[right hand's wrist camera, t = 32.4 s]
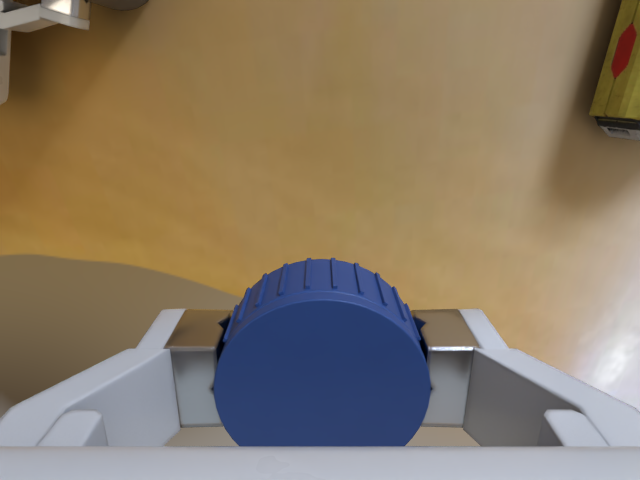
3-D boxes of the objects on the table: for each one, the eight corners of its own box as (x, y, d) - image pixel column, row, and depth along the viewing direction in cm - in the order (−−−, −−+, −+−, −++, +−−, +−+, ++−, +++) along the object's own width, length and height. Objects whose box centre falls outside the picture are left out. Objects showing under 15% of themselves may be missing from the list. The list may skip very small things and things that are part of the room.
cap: (221, 256, 9) (198, 297, 7) (420, 254, 9) (444, 295, 7) (235, 416, 10) (219, 480, 9) (408, 414, 10) (425, 479, 9)
